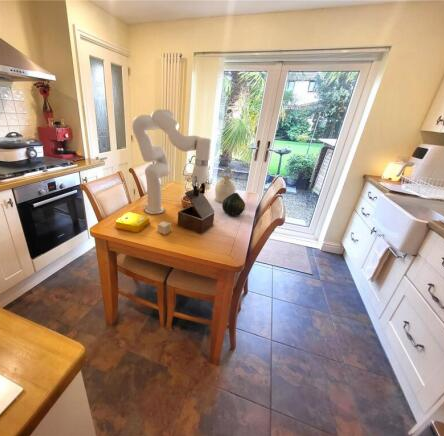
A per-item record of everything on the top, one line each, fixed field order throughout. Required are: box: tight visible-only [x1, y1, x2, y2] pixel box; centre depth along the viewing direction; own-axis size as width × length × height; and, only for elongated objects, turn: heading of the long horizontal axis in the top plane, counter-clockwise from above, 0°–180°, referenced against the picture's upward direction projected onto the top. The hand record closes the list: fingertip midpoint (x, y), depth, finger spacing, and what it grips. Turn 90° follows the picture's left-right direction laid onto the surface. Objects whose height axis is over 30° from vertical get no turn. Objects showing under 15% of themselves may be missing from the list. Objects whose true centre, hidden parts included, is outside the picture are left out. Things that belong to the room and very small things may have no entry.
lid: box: [184, 187, 216, 219], centre depth 132 cm, size 17×14×5 cm
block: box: [157, 221, 171, 236], centre depth 131 cm, size 5×5×5 cm
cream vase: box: [214, 167, 236, 204], centre depth 177 cm, size 15×16×25 cm
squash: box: [221, 192, 246, 217], centre depth 157 cm, size 14×15×15 cm
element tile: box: [115, 211, 150, 233], centre depth 137 cm, size 15×15×5 cm
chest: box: [177, 205, 215, 235], centre depth 139 cm, size 17×14×9 cm
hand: (199, 194), depth 132 cm, fingers closed on lid, 5 cm apart
